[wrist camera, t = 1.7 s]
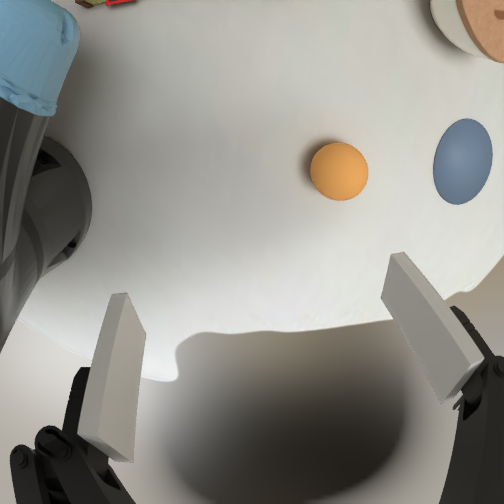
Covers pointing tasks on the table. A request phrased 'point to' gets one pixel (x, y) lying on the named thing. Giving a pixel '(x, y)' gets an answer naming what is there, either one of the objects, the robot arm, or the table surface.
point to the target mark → (462, 161)
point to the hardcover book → (91, 0)
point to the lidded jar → (472, 25)
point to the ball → (339, 171)
